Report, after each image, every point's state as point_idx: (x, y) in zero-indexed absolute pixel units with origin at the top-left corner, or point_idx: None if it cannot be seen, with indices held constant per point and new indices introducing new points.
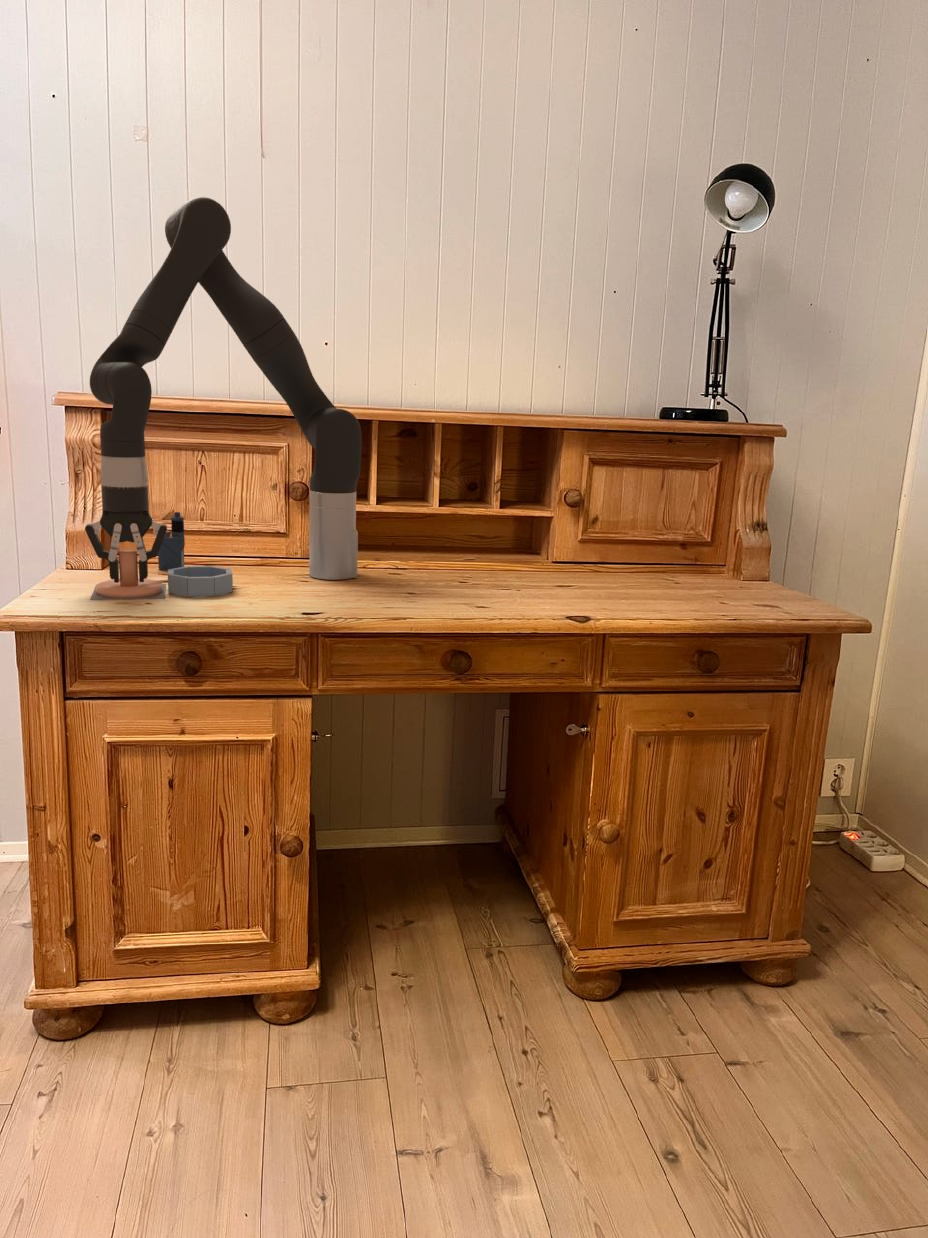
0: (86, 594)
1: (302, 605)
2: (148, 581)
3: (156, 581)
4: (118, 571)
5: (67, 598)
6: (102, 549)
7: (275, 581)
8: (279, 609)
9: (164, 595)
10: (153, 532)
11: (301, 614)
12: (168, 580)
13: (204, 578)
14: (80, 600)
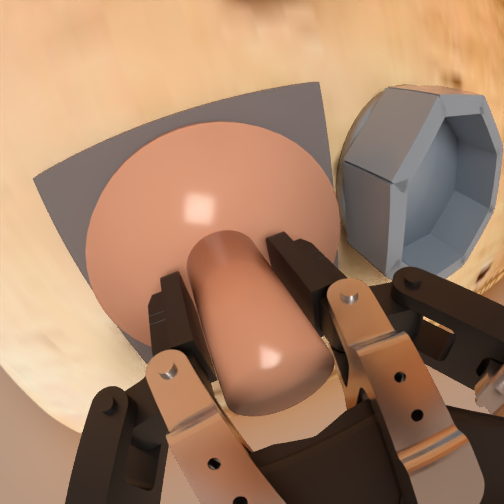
0: (65, 276)
1: (492, 235)
2: (282, 176)
3: (313, 169)
4: (192, 315)
5: (56, 332)
6: (163, 459)
7: (495, 45)
8: (470, 267)
9: (336, 266)
10: (478, 399)
11: (475, 281)
12: (373, 265)
13: (448, 274)
14: (103, 342)
